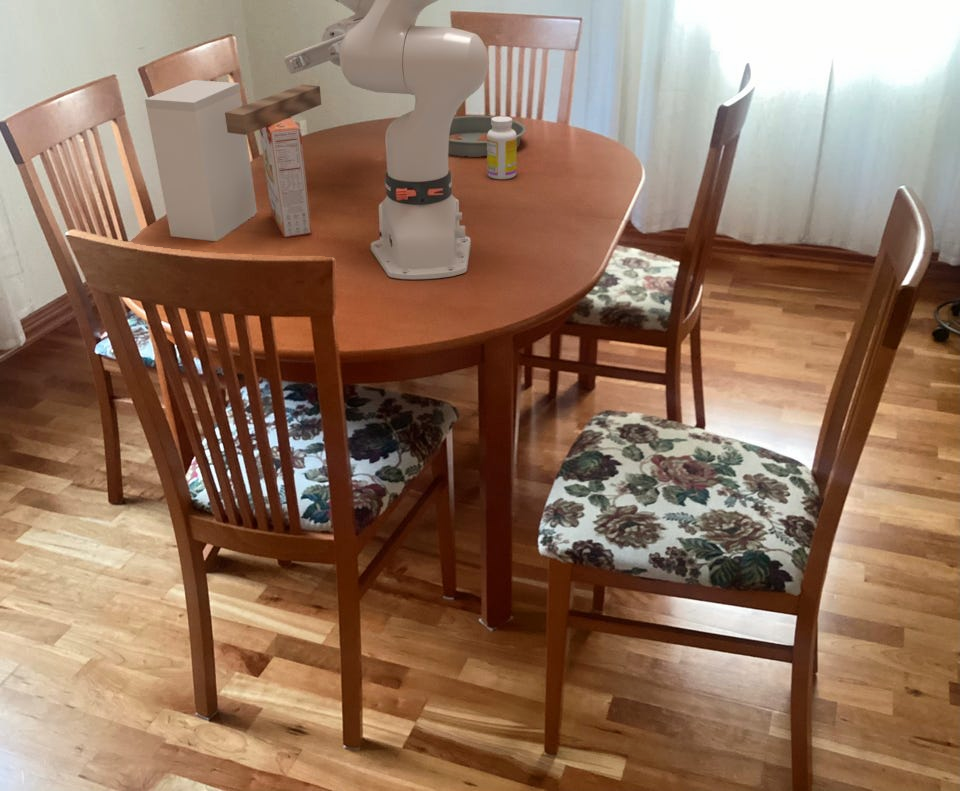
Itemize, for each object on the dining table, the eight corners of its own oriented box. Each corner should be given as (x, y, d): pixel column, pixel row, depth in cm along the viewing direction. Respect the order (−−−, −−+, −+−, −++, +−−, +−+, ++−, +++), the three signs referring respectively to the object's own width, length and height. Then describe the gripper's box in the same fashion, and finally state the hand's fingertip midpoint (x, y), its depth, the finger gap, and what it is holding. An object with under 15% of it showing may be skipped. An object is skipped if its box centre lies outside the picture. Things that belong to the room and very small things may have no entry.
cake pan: (495, 165, 217) (495, 146, 214) (409, 151, 227) (408, 132, 225) (542, 140, 235) (543, 122, 233) (460, 127, 246) (460, 110, 243)
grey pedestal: (214, 209, 191) (193, 80, 178) (257, 213, 189) (239, 83, 175) (170, 236, 178) (144, 99, 165) (216, 241, 176) (193, 102, 162)
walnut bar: (304, 102, 183) (302, 84, 181) (321, 104, 182) (319, 86, 180) (227, 132, 164) (224, 112, 163) (245, 134, 163) (243, 114, 161)
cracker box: (269, 215, 188) (255, 111, 177) (298, 211, 190) (287, 108, 179) (281, 239, 177) (268, 129, 166) (313, 234, 178) (301, 126, 168)
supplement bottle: (517, 171, 212) (518, 115, 205) (515, 180, 206) (516, 123, 200) (488, 171, 212) (488, 114, 206) (485, 180, 207) (485, 122, 200)
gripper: (298, 43, 195) (264, 57, 184) (378, 12, 186) (348, 24, 175) (310, 73, 198) (278, 88, 187) (390, 43, 188) (361, 57, 177)
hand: (312, 57), depth 181 cm, fingers open, 8 cm apart
